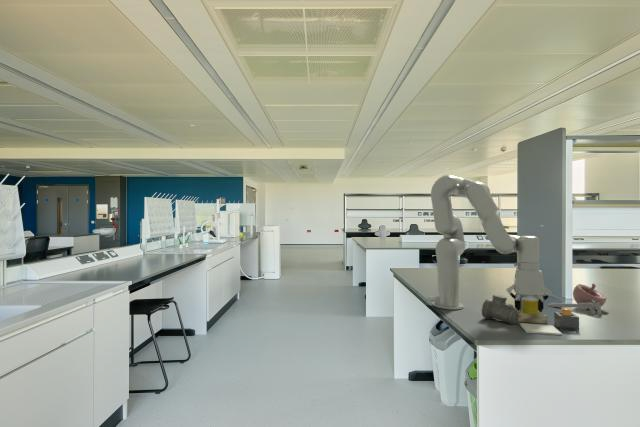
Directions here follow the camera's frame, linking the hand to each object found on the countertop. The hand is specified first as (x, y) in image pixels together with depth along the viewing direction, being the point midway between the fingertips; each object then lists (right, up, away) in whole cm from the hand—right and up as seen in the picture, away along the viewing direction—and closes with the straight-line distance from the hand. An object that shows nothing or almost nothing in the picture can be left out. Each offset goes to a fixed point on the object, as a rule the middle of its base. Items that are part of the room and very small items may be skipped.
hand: (528, 310), depth 147 cm
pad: (-4, -3, -14) cm, 15 cm away
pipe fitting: (-13, -4, -3) cm, 14 cm away
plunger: (+7, -1, -12) cm, 14 cm away
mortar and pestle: (+36, -4, +15) cm, 39 cm away
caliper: (+27, -4, +13) cm, 30 cm away
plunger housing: (+7, -3, -12) cm, 15 cm away
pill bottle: (0, -4, 0) cm, 4 cm away
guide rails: (0, -3, 0) cm, 3 cm away
